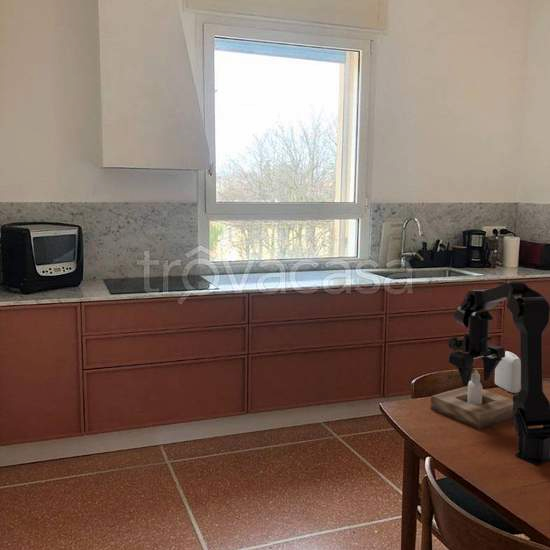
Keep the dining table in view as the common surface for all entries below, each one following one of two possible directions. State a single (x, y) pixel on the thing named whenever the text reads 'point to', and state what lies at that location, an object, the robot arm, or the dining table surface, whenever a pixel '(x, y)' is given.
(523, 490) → the dining table surface
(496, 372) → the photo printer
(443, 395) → the socket block
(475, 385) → the eye dropper bottle
